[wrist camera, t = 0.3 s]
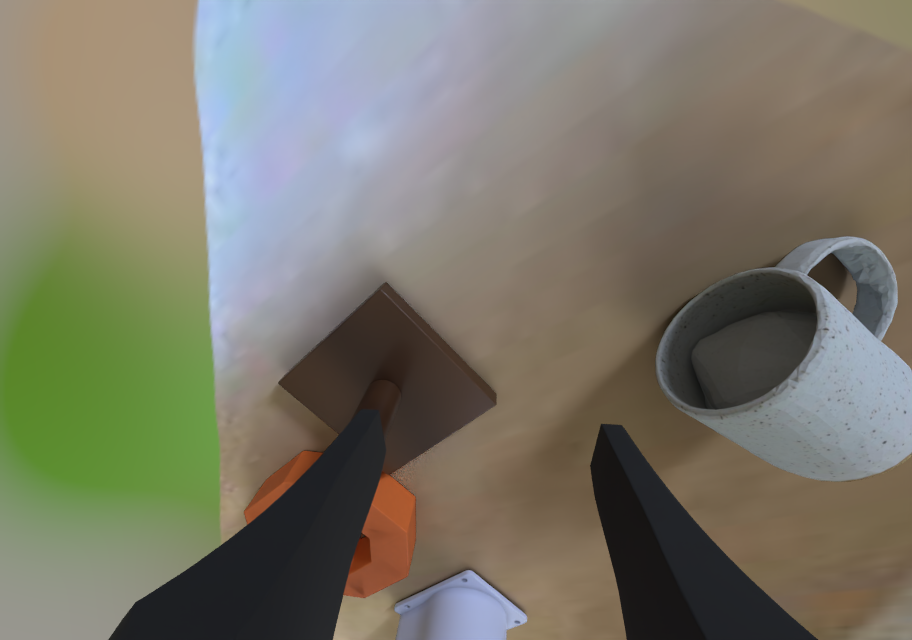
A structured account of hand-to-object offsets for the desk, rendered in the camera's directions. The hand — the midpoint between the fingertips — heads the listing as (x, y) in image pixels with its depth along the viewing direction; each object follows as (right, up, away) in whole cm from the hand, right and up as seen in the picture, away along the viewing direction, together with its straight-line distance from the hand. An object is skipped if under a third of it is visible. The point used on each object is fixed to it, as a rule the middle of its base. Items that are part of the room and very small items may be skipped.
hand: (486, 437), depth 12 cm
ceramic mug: (+15, +4, +8) cm, 18 cm away
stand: (-5, 0, +12) cm, 14 cm away
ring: (-10, -11, +18) cm, 24 cm away
